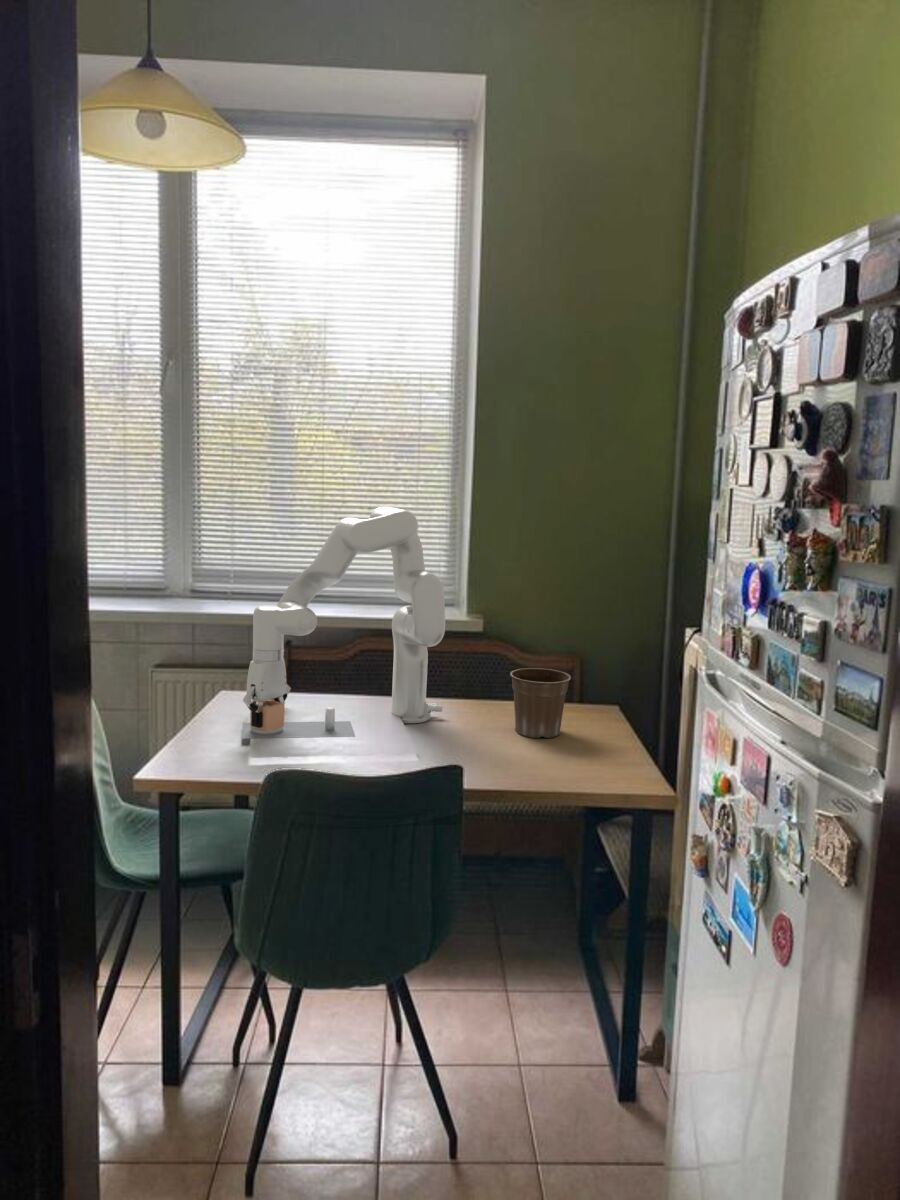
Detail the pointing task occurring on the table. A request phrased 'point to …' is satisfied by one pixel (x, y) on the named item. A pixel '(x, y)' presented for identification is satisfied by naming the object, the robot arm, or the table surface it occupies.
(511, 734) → the table surface
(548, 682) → the plant pot
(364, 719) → the table surface
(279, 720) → the collar
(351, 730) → the hub board
